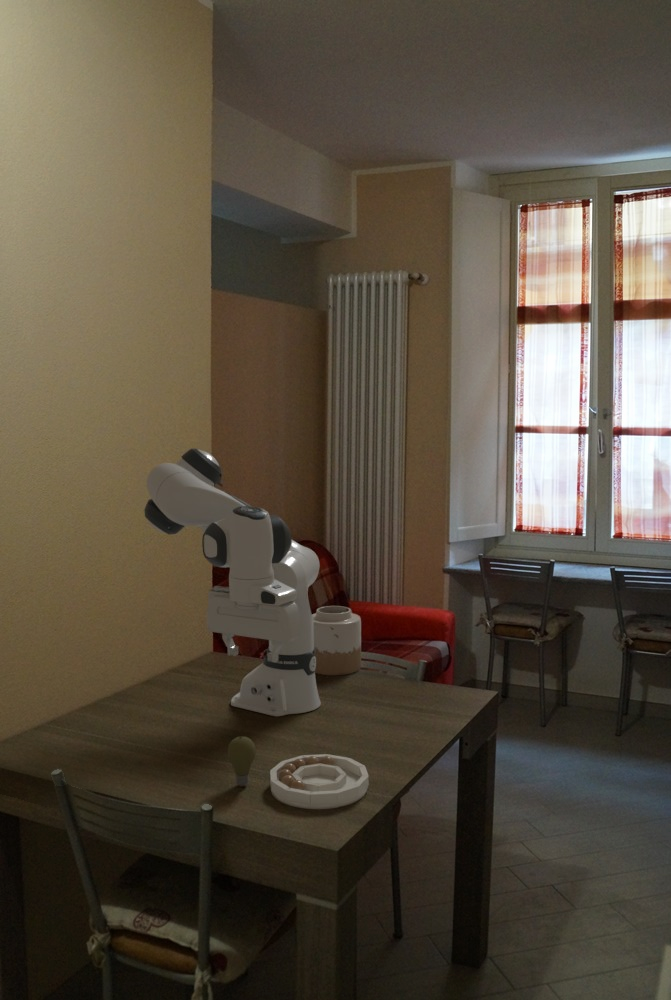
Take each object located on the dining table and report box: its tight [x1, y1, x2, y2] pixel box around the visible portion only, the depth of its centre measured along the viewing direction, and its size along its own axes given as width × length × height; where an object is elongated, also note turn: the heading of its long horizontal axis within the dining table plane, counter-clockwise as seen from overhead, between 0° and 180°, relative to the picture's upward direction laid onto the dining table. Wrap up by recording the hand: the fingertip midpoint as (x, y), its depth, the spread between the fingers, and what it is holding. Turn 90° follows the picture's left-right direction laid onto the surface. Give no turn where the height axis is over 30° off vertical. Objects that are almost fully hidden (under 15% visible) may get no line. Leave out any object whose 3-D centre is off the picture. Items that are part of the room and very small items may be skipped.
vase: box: [311, 605, 362, 676], centre depth 264 cm, size 15×15×17 cm
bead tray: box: [269, 753, 370, 810], centre depth 185 cm, size 19×19×4 cm
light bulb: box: [227, 736, 257, 787], centre depth 186 cm, size 6×6×10 cm
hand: (252, 658), depth 186 cm, fingers open, 8 cm apart
